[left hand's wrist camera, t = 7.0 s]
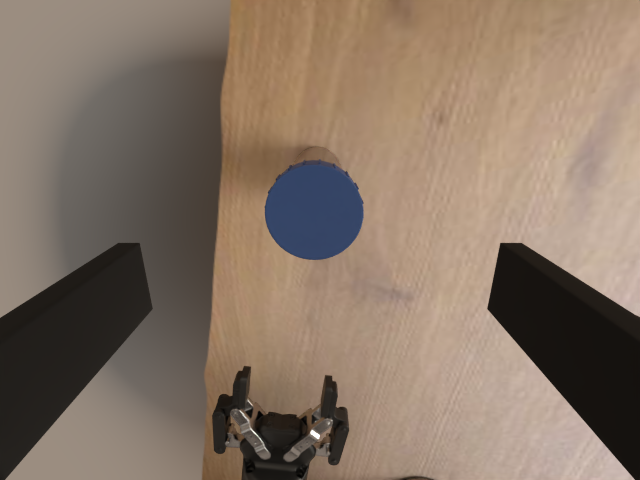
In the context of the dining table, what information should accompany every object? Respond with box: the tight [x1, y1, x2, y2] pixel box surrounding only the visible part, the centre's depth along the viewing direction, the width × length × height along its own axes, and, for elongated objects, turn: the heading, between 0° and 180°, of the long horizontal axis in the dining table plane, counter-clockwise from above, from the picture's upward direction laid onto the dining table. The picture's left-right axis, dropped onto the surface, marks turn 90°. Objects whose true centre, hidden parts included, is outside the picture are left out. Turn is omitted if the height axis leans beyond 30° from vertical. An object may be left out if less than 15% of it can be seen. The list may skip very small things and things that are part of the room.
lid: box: [265, 159, 363, 260], centre depth 20 cm, size 6×6×2 cm
